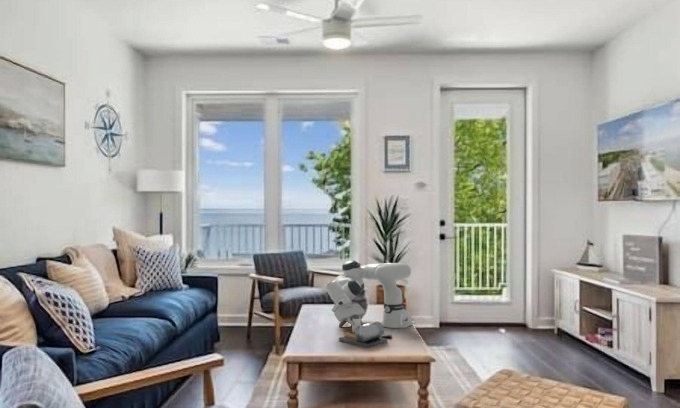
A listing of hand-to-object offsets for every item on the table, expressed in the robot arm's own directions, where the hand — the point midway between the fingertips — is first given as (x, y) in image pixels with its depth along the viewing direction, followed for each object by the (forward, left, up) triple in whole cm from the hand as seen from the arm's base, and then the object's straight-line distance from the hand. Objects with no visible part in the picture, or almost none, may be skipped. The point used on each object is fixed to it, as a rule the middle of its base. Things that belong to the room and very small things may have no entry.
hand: (357, 323), depth 329 cm
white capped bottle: (0, -1, -6) cm, 6 cm away
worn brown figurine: (-22, -28, -10) cm, 37 cm away
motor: (0, +4, -9) cm, 10 cm away
